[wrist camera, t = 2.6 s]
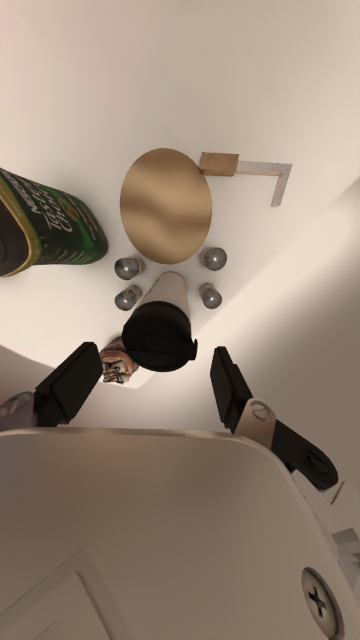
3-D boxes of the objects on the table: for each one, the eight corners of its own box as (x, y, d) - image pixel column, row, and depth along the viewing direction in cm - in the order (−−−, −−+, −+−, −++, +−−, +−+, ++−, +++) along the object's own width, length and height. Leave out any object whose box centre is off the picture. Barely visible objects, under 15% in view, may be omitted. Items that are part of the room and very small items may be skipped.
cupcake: (101, 336, 35) (74, 367, 26) (137, 330, 34) (121, 359, 25) (117, 363, 39) (98, 397, 30) (149, 358, 38) (139, 391, 29)
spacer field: (119, 243, 25) (102, 242, 19) (221, 248, 25) (232, 248, 20) (130, 319, 32) (121, 333, 27) (209, 322, 32) (214, 336, 27)
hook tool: (197, 202, 22) (198, 199, 20) (200, 159, 20) (202, 152, 18) (276, 206, 22) (283, 203, 21) (289, 164, 20) (297, 157, 18)
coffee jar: (116, 251, 25) (-1, 257, 9) (83, 268, 27) (-69, 302, 10) (79, 187, 21) (-273, -24, 5) (43, 212, 23) (-320, 120, 6)
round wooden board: (112, 147, 19) (111, 145, 19) (218, 153, 19) (219, 151, 19) (128, 262, 26) (127, 262, 26) (205, 265, 26) (205, 265, 26)
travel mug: (186, 301, 30) (194, 379, 12) (156, 300, 30) (121, 376, 12) (188, 272, 27) (202, 318, 9) (155, 270, 27) (107, 314, 9)
